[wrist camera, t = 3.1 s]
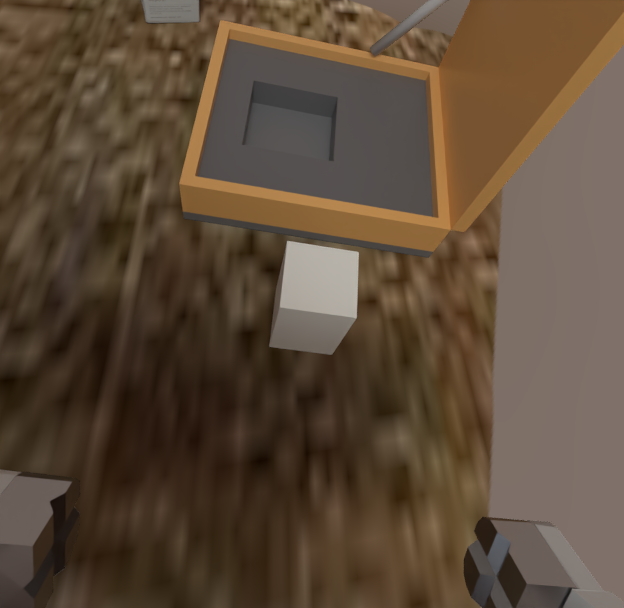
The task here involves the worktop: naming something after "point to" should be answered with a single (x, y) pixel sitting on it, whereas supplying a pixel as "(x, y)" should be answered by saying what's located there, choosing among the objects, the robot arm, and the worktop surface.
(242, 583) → the worktop surface
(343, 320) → the plate
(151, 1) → the skincare box
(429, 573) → the worktop surface
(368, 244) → the equipment case
